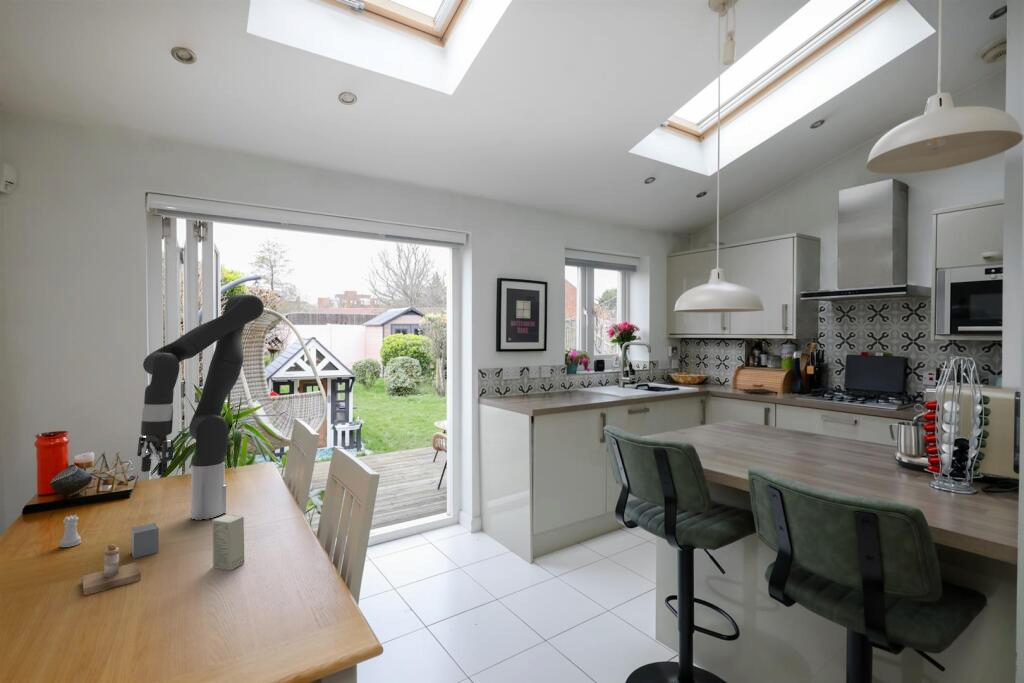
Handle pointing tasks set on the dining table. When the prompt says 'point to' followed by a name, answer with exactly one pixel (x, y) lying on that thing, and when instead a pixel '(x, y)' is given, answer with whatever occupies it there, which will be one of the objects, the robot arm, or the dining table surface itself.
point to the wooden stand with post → (111, 573)
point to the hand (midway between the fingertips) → (153, 473)
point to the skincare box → (228, 541)
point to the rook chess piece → (70, 532)
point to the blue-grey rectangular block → (144, 540)
